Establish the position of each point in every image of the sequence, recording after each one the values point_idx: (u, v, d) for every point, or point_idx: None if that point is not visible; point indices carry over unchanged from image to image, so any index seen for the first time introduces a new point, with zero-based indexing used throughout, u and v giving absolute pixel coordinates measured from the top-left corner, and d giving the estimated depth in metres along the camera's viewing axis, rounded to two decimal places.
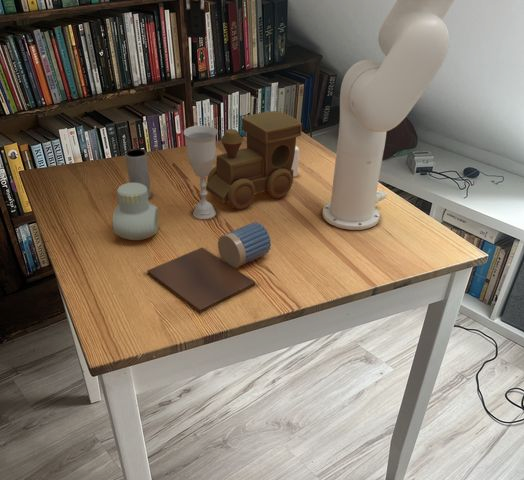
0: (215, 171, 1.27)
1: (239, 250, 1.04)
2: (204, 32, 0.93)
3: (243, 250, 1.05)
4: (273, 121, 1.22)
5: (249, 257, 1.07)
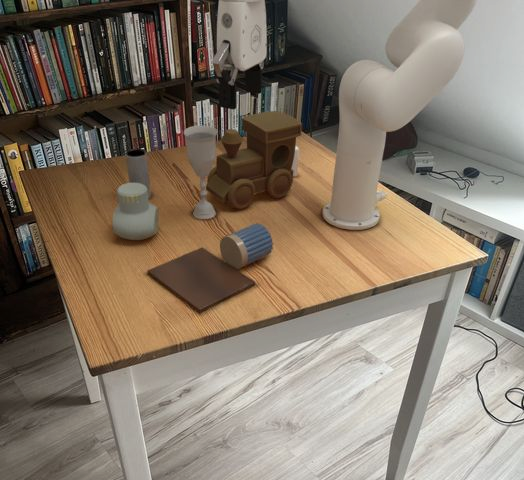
0: (215, 171, 1.27)
1: (242, 254, 1.04)
2: (234, 105, 0.96)
3: (246, 254, 1.05)
4: (273, 121, 1.22)
5: (250, 260, 1.07)
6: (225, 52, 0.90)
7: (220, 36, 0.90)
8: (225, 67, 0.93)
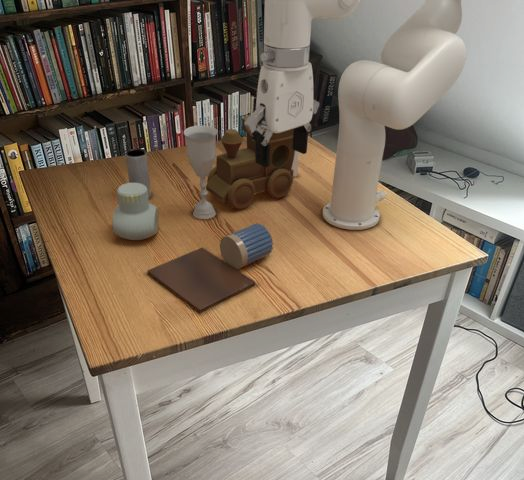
0: (215, 171, 1.27)
1: (242, 254, 1.04)
2: (266, 163, 1.00)
3: (246, 254, 1.05)
4: None
5: (250, 260, 1.07)
6: (258, 115, 0.94)
7: (258, 99, 0.95)
8: (262, 127, 0.98)
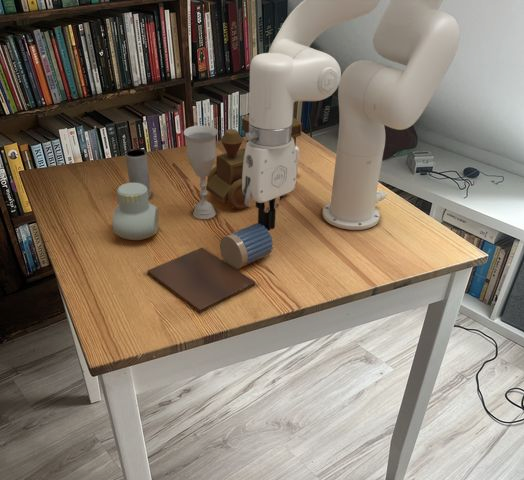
0: (215, 171, 1.27)
1: (242, 254, 1.04)
2: (268, 227, 1.09)
3: (245, 254, 1.05)
4: None
5: (250, 260, 1.07)
6: (251, 194, 1.02)
7: (244, 172, 1.01)
8: None
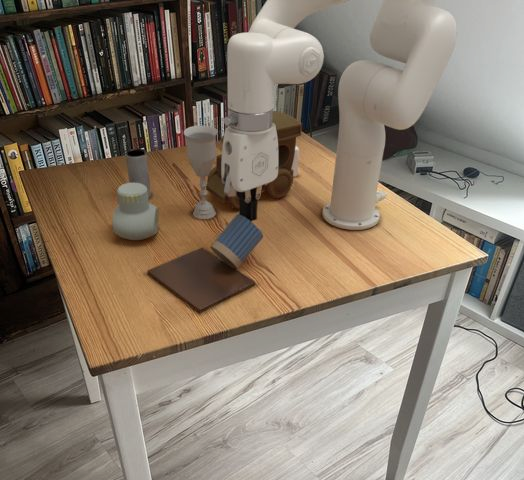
0: (215, 171, 1.27)
1: (232, 260, 1.03)
2: (249, 218, 1.04)
3: (236, 258, 1.03)
4: (272, 121, 1.22)
5: (244, 257, 1.05)
6: (231, 182, 0.97)
7: (223, 159, 0.96)
8: None
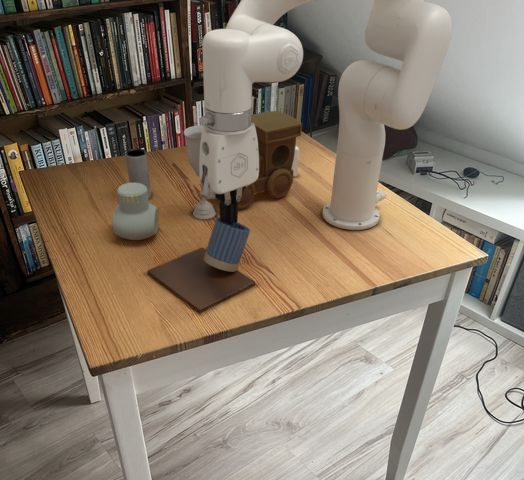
0: None
1: (226, 270, 1.03)
2: (230, 221, 1.01)
3: (229, 266, 1.03)
4: (272, 121, 1.22)
5: (238, 258, 1.04)
6: (209, 184, 0.94)
7: (201, 160, 0.93)
8: None
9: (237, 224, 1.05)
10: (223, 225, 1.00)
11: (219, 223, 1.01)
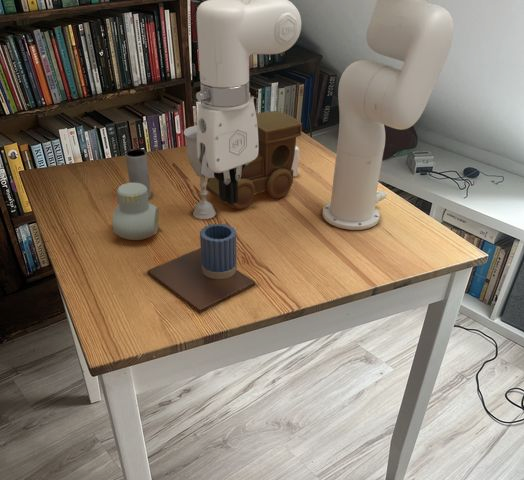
0: None
1: (224, 277, 1.04)
2: (230, 201, 0.98)
3: (226, 273, 1.04)
4: (272, 121, 1.22)
5: (234, 262, 1.04)
6: (207, 163, 0.92)
7: (198, 138, 0.90)
8: None
9: (223, 227, 1.03)
10: (206, 240, 0.99)
11: (203, 238, 1.00)
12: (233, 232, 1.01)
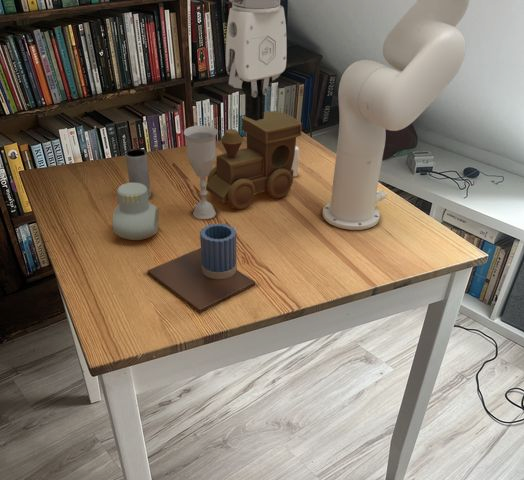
0: (215, 171, 1.27)
1: (224, 277, 1.04)
2: (256, 116, 0.98)
3: (226, 273, 1.04)
4: (272, 121, 1.22)
5: (234, 262, 1.04)
6: (236, 71, 0.91)
7: (228, 44, 0.90)
8: None
9: (223, 227, 1.03)
10: (206, 240, 0.99)
11: (203, 238, 1.00)
12: (233, 232, 1.01)
